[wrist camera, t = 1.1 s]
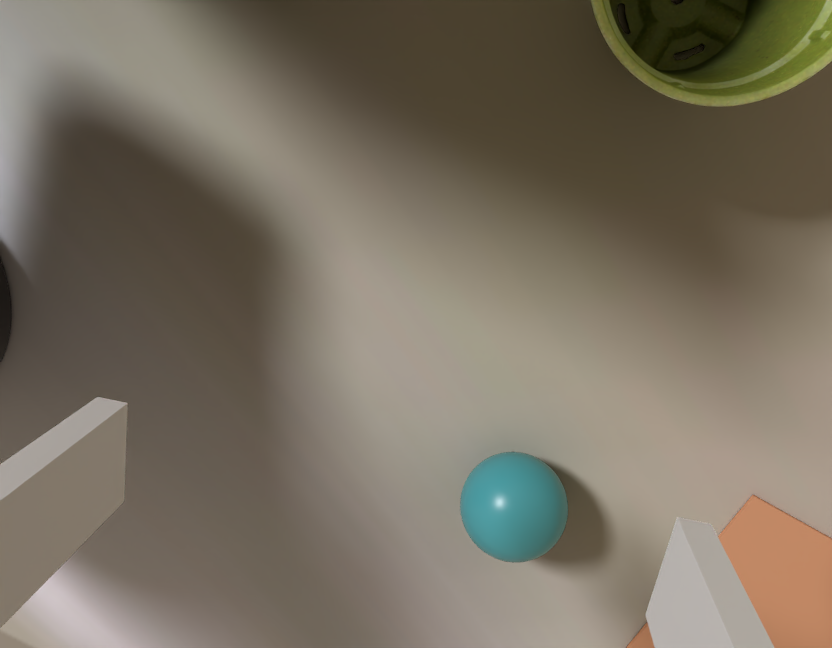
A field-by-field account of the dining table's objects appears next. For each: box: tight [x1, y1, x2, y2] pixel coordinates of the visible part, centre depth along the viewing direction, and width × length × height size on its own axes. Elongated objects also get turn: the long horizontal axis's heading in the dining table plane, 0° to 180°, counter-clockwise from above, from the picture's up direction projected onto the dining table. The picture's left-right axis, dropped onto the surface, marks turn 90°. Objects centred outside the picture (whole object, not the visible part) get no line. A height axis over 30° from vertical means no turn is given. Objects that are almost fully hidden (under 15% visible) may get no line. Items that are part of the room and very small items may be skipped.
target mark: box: [626, 495, 832, 648], centre depth 38 cm, size 12×12×1 cm
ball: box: [460, 452, 568, 562], centre depth 35 cm, size 6×6×6 cm
